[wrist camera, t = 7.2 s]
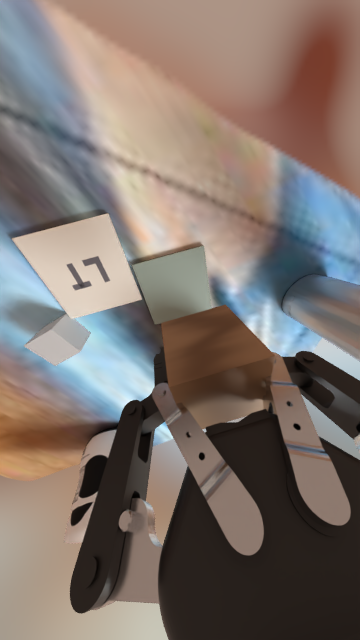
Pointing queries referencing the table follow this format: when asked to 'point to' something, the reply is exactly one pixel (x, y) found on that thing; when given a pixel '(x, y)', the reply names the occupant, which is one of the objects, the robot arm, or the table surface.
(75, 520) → the milk container
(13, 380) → the table surface
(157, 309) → the grey-green mat
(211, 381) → the walnut block
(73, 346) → the grey block
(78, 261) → the tile
